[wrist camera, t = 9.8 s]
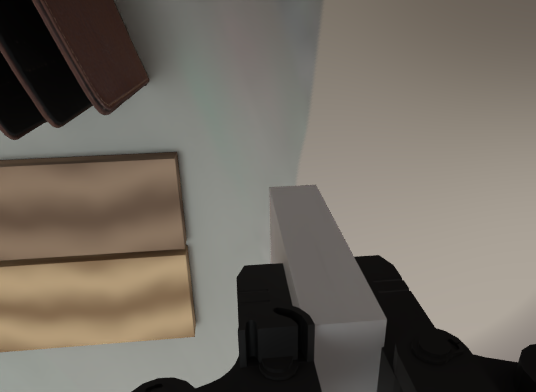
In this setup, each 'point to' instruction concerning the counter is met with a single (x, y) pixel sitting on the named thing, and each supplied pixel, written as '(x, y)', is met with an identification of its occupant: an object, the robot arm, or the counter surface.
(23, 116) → the letter holder
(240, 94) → the counter surface
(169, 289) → the oak plank
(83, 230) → the walnut board
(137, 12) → the counter surface
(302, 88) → the counter surface
